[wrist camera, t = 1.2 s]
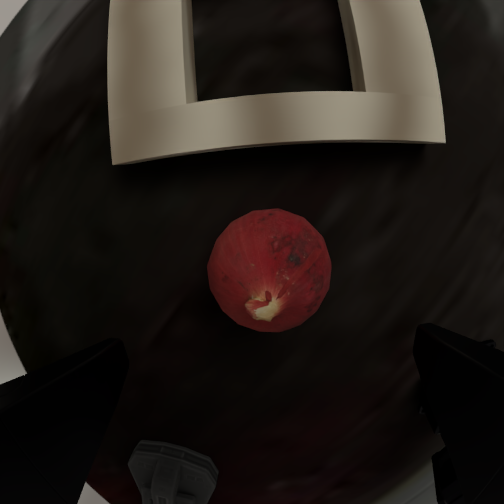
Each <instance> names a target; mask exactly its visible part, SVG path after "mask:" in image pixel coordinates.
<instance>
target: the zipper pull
mask: <svg viewBox="0 0 504 504" xmlns="http://www.w3.org/2000/svg"><path fill="white" fill-rule="evenodd" d="M128 466H129V469H130V471H131V473H132V475H133V477H134V480H135V482H136V484H137V486H138V489H139V491H140V493H141V495H142V504H207V503H208V501H209V499H210V497H211V495H212V493H213V491H214V489H215V487H216V483H217V478H218V472H219V471H218V470H217V468H216V466H215V465H214V463H213V461H212V460H211V458H210V457H208V456H206V455H203V454H201V453H198V452H196V451H193V450H191V449H189V448H186V447H182V446H178V445H174V444H171V443H167V442H160V441H149V440H141V441H140V442H139V443H138V445H137V446H136V447H135V449H134V451H133V453H132V455H131V457H130V459H129V461H128Z"/></svg>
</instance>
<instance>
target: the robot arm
mask: <svg viewBox="0 0 504 504" xmlns="http://www.w3.org/2000/svg"><path fill="white" fill-rule="evenodd" d="M495 346H496V343H495V342H494V341H493V340H487V341H484V342H477V341H475V340H472V339H470V338H467V337H465V336H462V335H460V334H457V333H455V332H452V331H450V330H447V329H445V328H442V327H440V326H437V325H434V324H432V323H426V324H420V325H418V327H417V329H416V335H415V340H414V346H413V355H414V359H415V362H416V365H417V368H418V371H419V374H420V378H421V381H422V384H423V390H422V393H421V397H420V400H419V402H420V403H419V406H418V412H419V414H425V415H426V417H427V419H428V421H429V423H430V425H431V427H432V429H433V431H434V433H435V434H436V435H438V434H441V437H442V439H443V441H444V443H445V445H446V446H445V447H444V448H443V449H442V450H441V451H439V452H436V453H435V454H434V455H433V456H432V463H433V472H434V480H435V488H436V496H437V502H438V504H504V352H503V351H500V350H498V349H495ZM128 369H129V359H128V356H127V353H126V350H125V347H124V344H123V342H122V340H120V339H115V338H109V339H106V340H104V341H102V342H100V343H97V344H95V345H93V346H90V347H88V348H86V349H84V350H81V351H79V352H77V353H74V354H72V355H70V356H67V357H65V358H63V359H60V360H58V361H56V362H53V363H51V364H49V365H46V366H44V367H42V368H39V369H37V370H35V371H32V372H30V373H27V374H25V376H24V375H23V376H21V377H18V378H16V379H13V380H10V381H8V382H6V383H3V384H0V504H77V503H78V500H79V498H80V495H81V492H82V490H83V487H84V484H85V482H86V479H87V476H88V474H89V471H90V469H91V466H92V464H93V461H94V459H95V456H96V454H97V451H98V449H99V446H100V444H101V441H102V439H103V437H104V434H105V432H106V429H107V427H108V425H109V422H110V420H111V418H112V415H113V413H114V411H115V408H116V406H117V403H118V400H119V397H120V394H121V391H122V387H123V384H124V381H125V378H126V375H127V372H128Z"/></svg>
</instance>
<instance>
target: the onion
mask: <svg viewBox="0 0 504 504" xmlns="http://www.w3.org/2000/svg"><path fill="white" fill-rule="evenodd" d="M207 270H208V278H209V285H210V290H211V292H212V293H213V295H214V297H215V299H216V300H217V302H218V304H219V305H220V307H221V309H222V311H223V312H224V313H226V314H227V315H228V316H229V317H230V318H232V319H233V320H234V321H235V322H236V323H238V324H239V325H242V326H245V327H248V328H251V329H253V330H256V331H260V332H282V331H285V330H287V329H290V328H293V327H296V326H299V325H301V324H302V323H303V322H304V321H306V320H307V319H308V318H309V317H310V316H312V315H313V314H314V313H315V312H316V311H317V310H318V308H319V306H320V304H321V302H322V300H323V299H324V297H325V295H326V293H327V292H328V290H329V285H330V275H331V260H330V257H329V254H328V251H327V248H326V244H325V241H324V238H323V236H322V235H321V234H320V233H319V232H318V231H317V230H316V229H315V228H314V227H313V226H312V225H311V224H310V223H309V222H308V221H307V220H306V219H305V218H303V217H301V216H298V215H295V214H293V213H290V212H287V211H284V210H282V209H279V208H278V209H267V210H257V211H252V212H250V213H248V214H246V215H244V216H242V217H240V218H238V219H236V220H234V221H232V222H231V223H230V224H229V226H228V227H227V228H226V229H225V230H224V231H223V232H222V234H221V235H220V236H219V237H218V238H217V240H216V242H215V245H214V248H213V251H212V253H211V256H210V259H209V262H208V265H207Z"/></svg>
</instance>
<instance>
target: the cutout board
mask: <svg viewBox="0 0 504 504" xmlns="http://www.w3.org/2000/svg"><path fill="white" fill-rule="evenodd" d="M337 1H338V6H339V10H340V15H341V20H342V25H343V30H344V35H345V41H346V46H347V52H348V58H349V65H350V72H351V79H352V86H353V91H316V92H289V93H273V94H260V95H249V96H240V97H231V98H223V99H216V100H208V101H202V102H197V89H196V75H195V60H194V43H193V23H192V0H110V11H109V28H108V110H109V128H110V142H111V154H112V164H113V165H119V164H133V163H139V162H144V161H150V160H156V159H162V158H169V157H175V156H182V155H189V154H196V153H204V152H212V151H221V150H230V149H240V148H250V147H262V146H275V145H290V144H310V143H342V142H384V143H416V144H433V143H446V140H445V128H444V118H443V109H442V101H441V94H440V87H439V81H438V75H437V70H436V64H435V59H434V54H433V50H432V45H431V41H430V37H429V33H428V29H427V25H426V21H425V18H424V14H423V11H422V7H421V4H420V1H419V0H337Z"/></svg>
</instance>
